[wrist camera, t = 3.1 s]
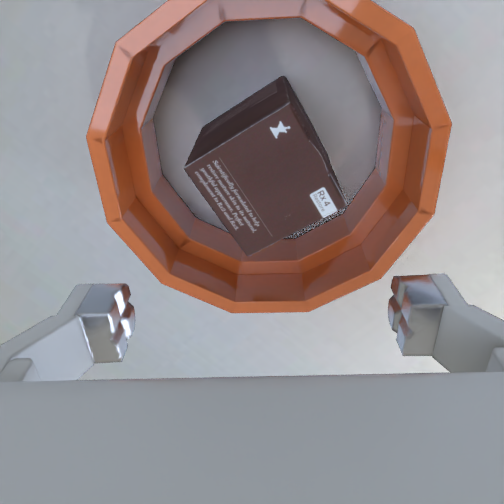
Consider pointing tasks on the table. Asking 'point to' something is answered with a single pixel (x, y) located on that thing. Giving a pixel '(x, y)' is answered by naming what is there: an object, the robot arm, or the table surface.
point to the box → (264, 169)
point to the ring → (285, 250)
